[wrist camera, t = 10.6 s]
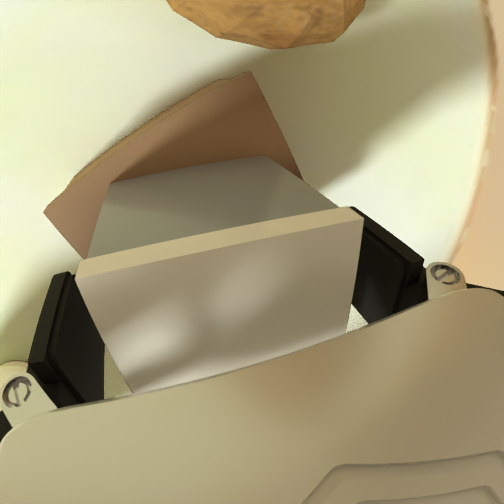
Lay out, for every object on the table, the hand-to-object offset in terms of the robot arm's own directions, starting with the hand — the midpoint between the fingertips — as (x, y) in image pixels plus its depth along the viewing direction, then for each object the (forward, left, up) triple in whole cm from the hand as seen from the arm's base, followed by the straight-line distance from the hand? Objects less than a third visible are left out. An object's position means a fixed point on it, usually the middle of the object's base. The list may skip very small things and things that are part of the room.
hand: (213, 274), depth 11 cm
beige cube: (0, 0, -3) cm, 3 cm away
